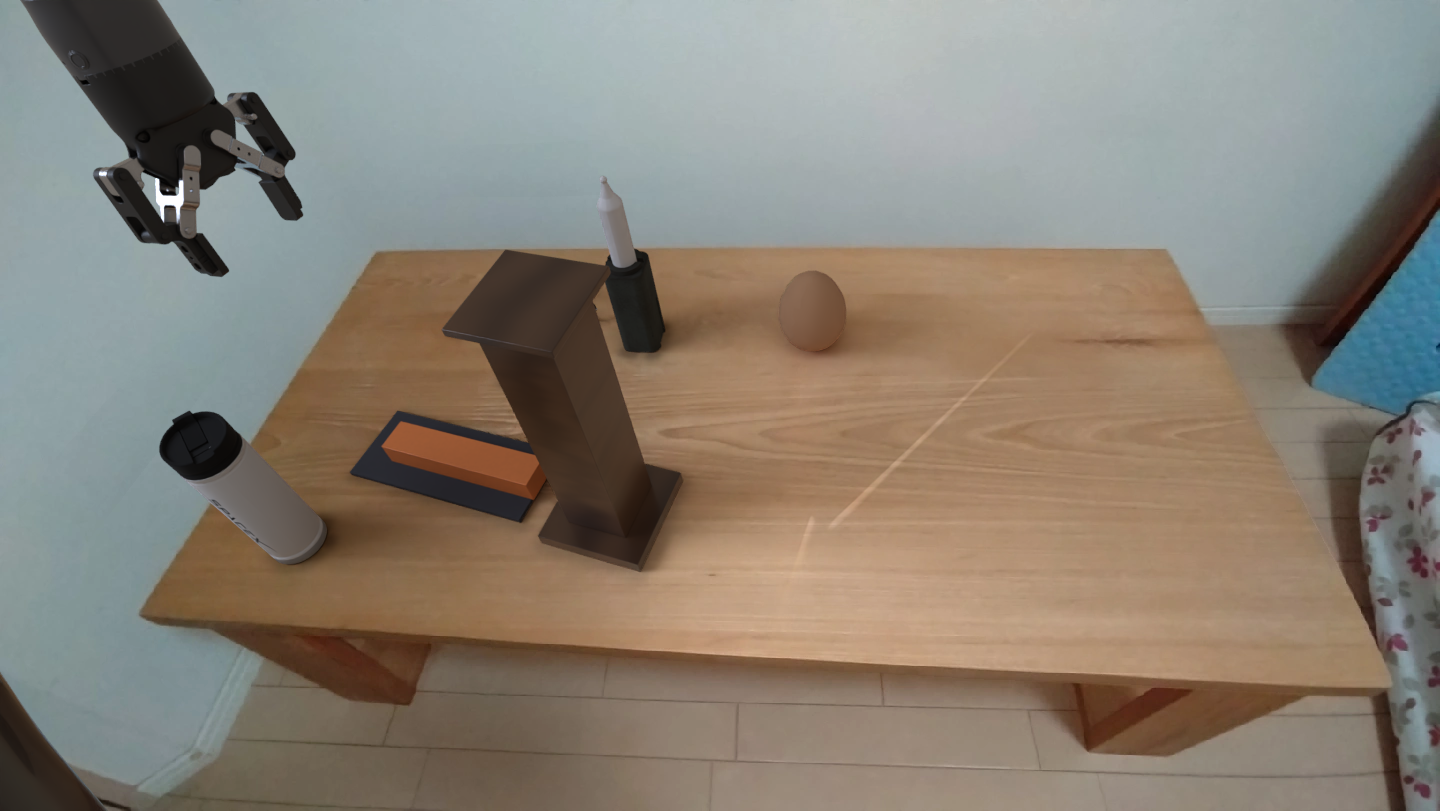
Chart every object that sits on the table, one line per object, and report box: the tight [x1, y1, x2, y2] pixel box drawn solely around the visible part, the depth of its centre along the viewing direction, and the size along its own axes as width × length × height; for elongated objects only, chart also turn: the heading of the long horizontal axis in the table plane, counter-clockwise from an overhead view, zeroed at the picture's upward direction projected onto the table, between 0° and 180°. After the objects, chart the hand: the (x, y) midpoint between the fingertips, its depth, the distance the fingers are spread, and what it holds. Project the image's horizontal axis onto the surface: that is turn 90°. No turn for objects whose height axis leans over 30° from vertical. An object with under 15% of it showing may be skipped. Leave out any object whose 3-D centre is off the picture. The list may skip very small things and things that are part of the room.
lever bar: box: [381, 421, 547, 501], centre depth 90 cm, size 20×4×3 cm, turn 70°
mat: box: [349, 410, 547, 524], centre depth 92 cm, size 24×10×1 cm, turn 70°
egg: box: [778, 270, 847, 352], centre depth 95 cm, size 8×8×11 cm
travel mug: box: [158, 410, 328, 565], centre depth 81 cm, size 6×7×20 cm
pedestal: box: [441, 249, 684, 573], centre depth 74 cm, size 12×12×32 cm
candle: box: [596, 175, 666, 353], centre depth 93 cm, size 5×5×25 cm
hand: (258, 245), depth 66 cm, fingers open, 8 cm apart
